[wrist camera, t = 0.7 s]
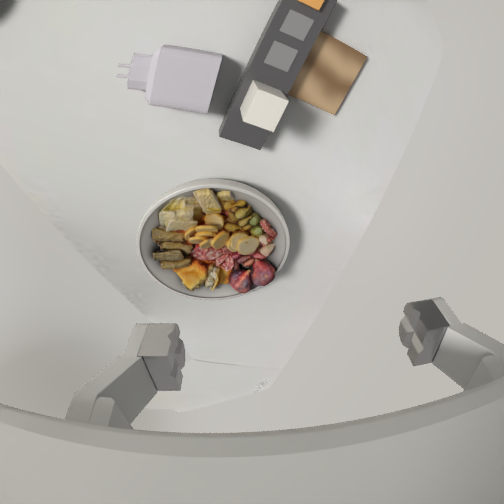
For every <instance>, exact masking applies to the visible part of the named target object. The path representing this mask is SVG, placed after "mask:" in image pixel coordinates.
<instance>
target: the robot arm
mask: <svg viewBox="0 0 504 504" xmlns="http://www.w3.org/2000/svg"><path fill="white" fill-rule="evenodd" d="M403 312H404V314H405V315H406V316H405V317H404V318H403V319H402V320H401V322H400V326H399V336H400V340H401V342H402V344H403V345H404V346H405V347H407V348H409V349H408V352H407V354H408V356H409V358H410V360H411V362H412V365H413V366H417V365H422V364H427V363H431V362H433V364H434V365H435V366H436V367H437V368H439V369H440V370H441V371H442V372H444V373H445V374H446V375H447V376H449V377H450V378H451V379H452V380H454V381H455V382H456V383H457V384H458V385H460V386H461V387H462V388H463V389H464V391H463V392H461V393H459V394H455V395H453V396H449V397H446V398H443V399H440V400H437V401H433V402H430V403H426V404H423V405H419V406H415V407H412V408H408V409H404V410H400V411H396V412H391V413H387V414H383V415H378V416H374V417H369V418H364V419H359V420H353V421H347V422H341V423H336V424H329V425H321V426H314V427H306V428H298V429H287V430H276V431H262V432H242V433H176V432H158V431H144V430H134V429H133V428H132V426H131V425H130V424H131V423H132V421H133V420H134V419H135V418H136V417H137V416H138V414H139V413H140V412H141V411H142V410H143V409H144V407H145V406H146V405H147V404H148V403H149V401H150V400H151V399H152V398H153V397H154V396H155V394H156V393H157V391H180V390H181V383H182V377H183V375H182V372H181V369H182V368H183V367H184V364H185V348H184V344H183V341H182V340H181V339H180V338H179V335H180V330H179V327H178V324H176V323H149V324H136V325H134V327H133V330H132V332H131V335H130V338H129V341H128V344H127V346H126V349H125V352H124V355H123V356H119V357H118V358H117V359H115V360H114V361H113V362H112V363H111V364H109V365H108V366H107V367H105V368H104V369H103V370H102V371H101V372H99V373H98V374H97V375H96V376H94V377H93V378H92V379H91V380H90V381H88V382H87V383H86V384H85V385H83V386H82V387H81V388H80V389H79V390H77V391H76V392H75V393H74V396H73V398H72V401H71V403H70V406H69V409H68V412H67V414H66V417H65V419H60V418H55V417H50V416H46V415H41V414H37V413H33V412H29V411H25V410H21V409H18V408H14V407H10V406H7V405H4V404H1V403H0V504H504V344H502V343H500V342H498V341H497V340H495V339H493V338H491V337H489V336H488V335H486V334H484V333H482V332H480V331H478V330H477V329H475V328H473V327H471V326H469V325H467V324H465V323H463V324H461V322H460V321H459V319H458V318H457V317H456V315H455V314H454V313H453V311H452V310H451V308H450V307H449V306H448V304H447V303H446V301H445V300H444V299H443V298H441V297H438V298H433V299H429V300H423V301H416V302H410V303H407V304H406V305H405V307H404V311H403Z"/></svg>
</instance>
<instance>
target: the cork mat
mask: <svg viewBox="0 0 504 504" xmlns="http://www.w3.org/2000/svg"><path fill="white" fill-rule="evenodd" d="M366 58H367V56H365V55H363V54H362V53H360V52H358V51H357V50H355V49H353V48H351V47H350V46H348V45H346V44H344V43H343V42H341V41H339V40H337V39H335V38H333V37H331V36H330V35H328V34H326V33H324V32H322V31H320V33H319V35H318V37H317V39H316V41H315V43H314V45H313V47H312V48H311V50H310V52H309V54H308V56H307V58H306V60H305V62H304V64H303V66H302V68H301V70H300V72H299V73H298V75H297V77H296V79H295V81H294V83H293V85H292V87H291V89H290V91H289V93H288V95H291V96H293V97H295V98H298V99H300V100H302V101H305V102H307V103H309V104H311V105H314V106H316V107H318V108H320V109H322V110H324V111H327V112H329V113H331V114H333V115H335V113H336V112H337V110H338V108H339V106H340V104H341V103H342V101H343V99H344V97H345V96H346V94H347V92H348V90H349V88H350V87H351V85H352V83H353V81H354V80H355V78H356V76H357V74H358V72H359V71H360V69H361V67H362V65H363V64H364V62H365V60H366Z"/></svg>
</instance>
